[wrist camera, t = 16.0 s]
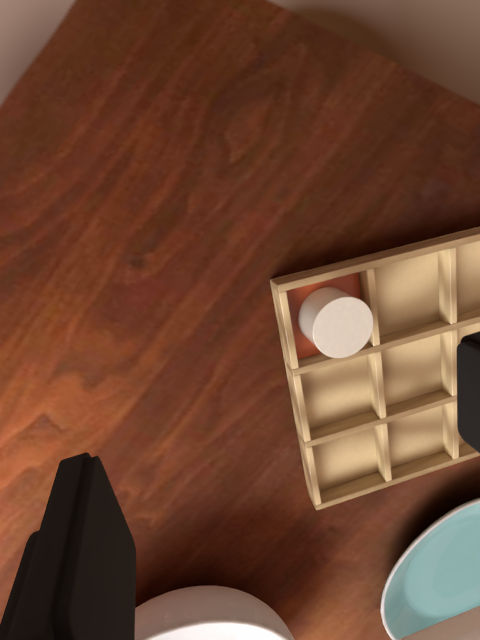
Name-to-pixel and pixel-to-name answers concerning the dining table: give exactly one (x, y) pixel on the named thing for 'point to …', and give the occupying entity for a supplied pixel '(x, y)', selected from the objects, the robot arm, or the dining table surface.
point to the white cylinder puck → (335, 322)
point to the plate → (435, 574)
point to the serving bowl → (208, 616)
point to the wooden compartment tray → (383, 367)
